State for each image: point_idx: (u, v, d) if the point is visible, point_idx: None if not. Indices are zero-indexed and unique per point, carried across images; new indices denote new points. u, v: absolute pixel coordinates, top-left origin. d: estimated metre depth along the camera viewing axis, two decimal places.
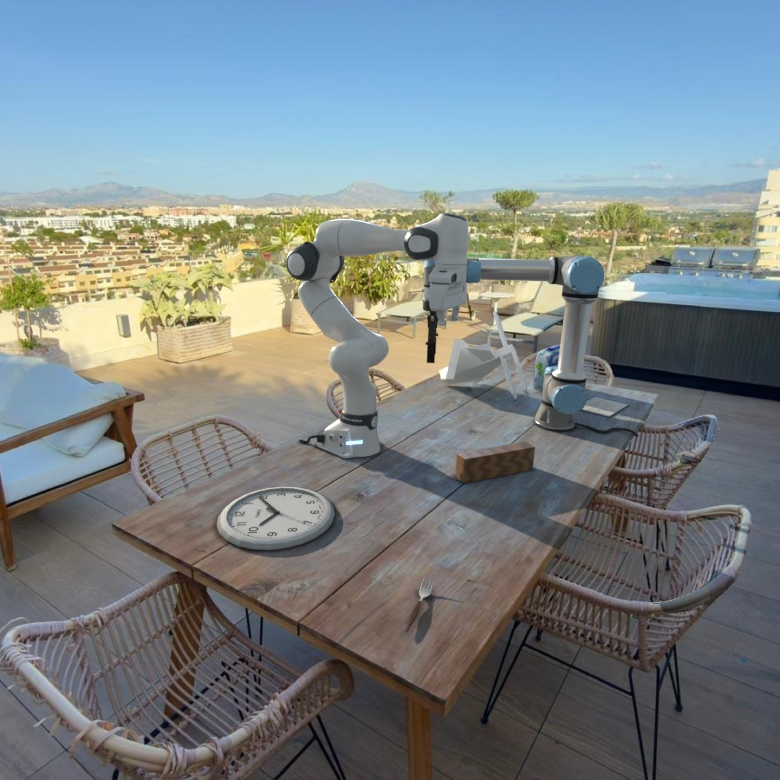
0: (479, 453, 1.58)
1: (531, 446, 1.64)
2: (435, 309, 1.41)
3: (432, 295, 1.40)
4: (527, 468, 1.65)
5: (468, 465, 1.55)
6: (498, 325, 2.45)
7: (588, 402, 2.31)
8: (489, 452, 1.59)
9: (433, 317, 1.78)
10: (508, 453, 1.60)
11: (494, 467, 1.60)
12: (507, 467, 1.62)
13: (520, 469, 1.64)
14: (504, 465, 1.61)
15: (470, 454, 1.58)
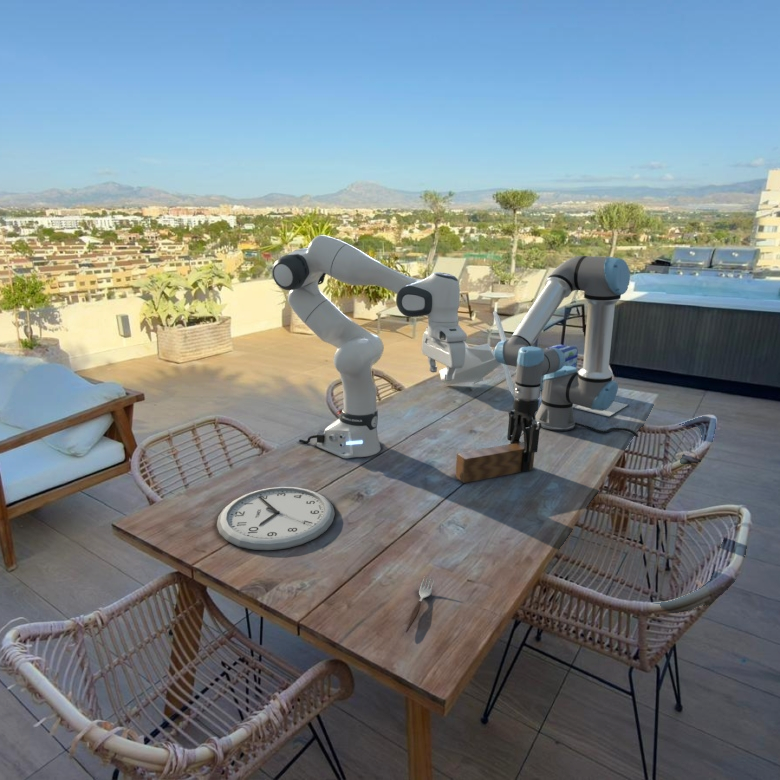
0: (479, 453, 1.58)
1: None
2: (458, 366, 1.46)
3: (454, 354, 1.44)
4: None
5: (468, 465, 1.55)
6: (498, 325, 2.45)
7: None
8: (489, 452, 1.59)
9: (538, 426, 1.56)
10: (508, 453, 1.60)
11: (494, 467, 1.60)
12: (507, 467, 1.62)
13: (520, 469, 1.64)
14: (504, 465, 1.61)
15: (470, 454, 1.58)
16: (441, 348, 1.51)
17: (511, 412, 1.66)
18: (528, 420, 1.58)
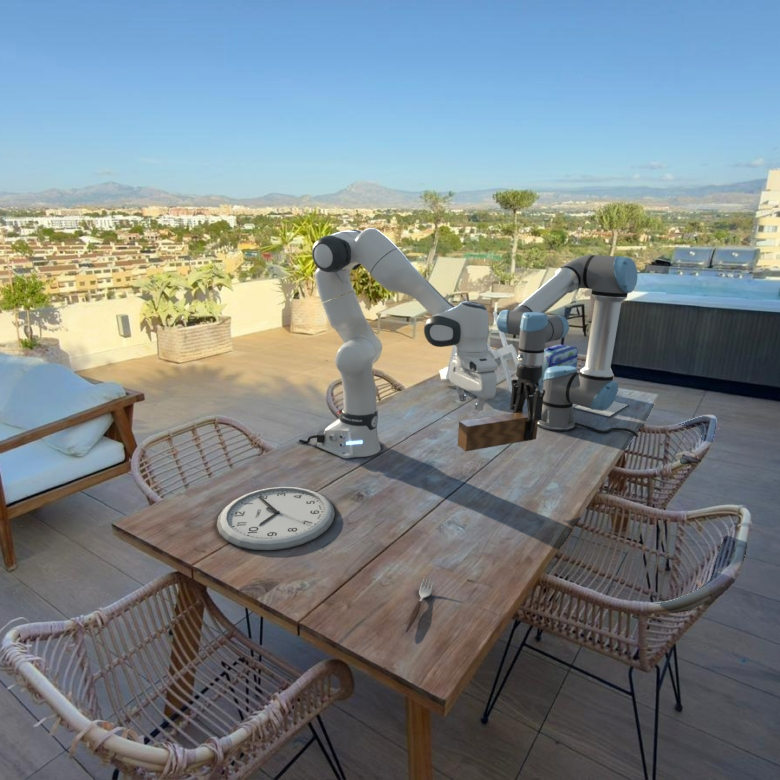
0: (482, 421, 1.55)
1: None
2: (489, 397, 1.43)
3: (486, 385, 1.42)
4: None
5: (471, 432, 1.52)
6: None
7: None
8: (492, 420, 1.56)
9: (542, 392, 1.53)
10: (511, 421, 1.57)
11: (497, 436, 1.56)
12: (510, 436, 1.59)
13: (523, 438, 1.61)
14: (507, 434, 1.58)
15: (472, 422, 1.55)
16: (471, 378, 1.48)
17: (514, 381, 1.63)
18: (531, 387, 1.55)
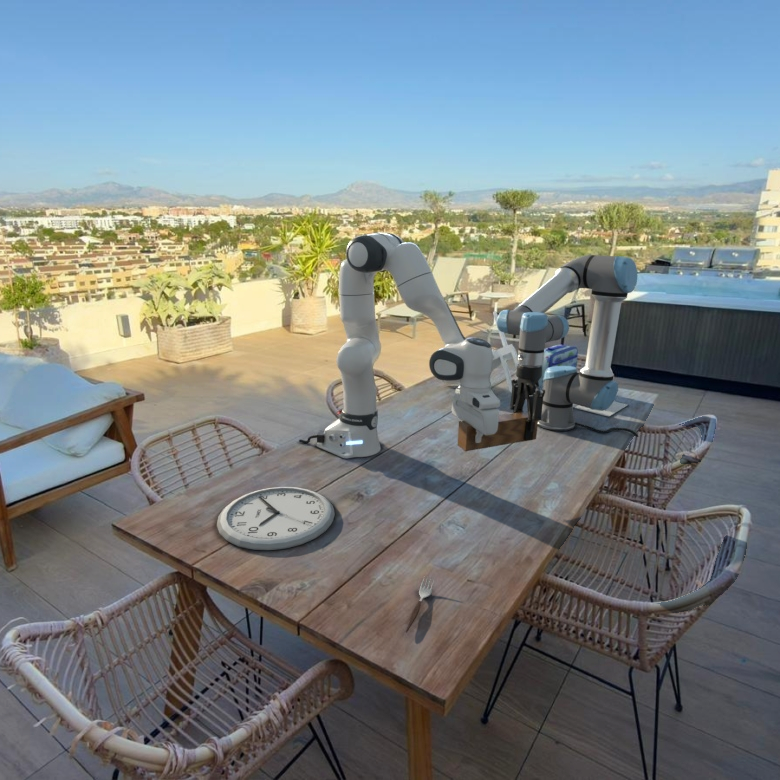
0: None
1: None
2: (491, 433, 1.46)
3: (488, 421, 1.44)
4: None
5: (471, 432, 1.52)
6: None
7: None
8: None
9: (542, 392, 1.53)
10: (511, 421, 1.57)
11: (497, 436, 1.57)
12: (510, 436, 1.59)
13: (523, 438, 1.61)
14: (507, 434, 1.58)
15: None
16: (473, 413, 1.50)
17: (514, 381, 1.63)
18: (531, 387, 1.55)
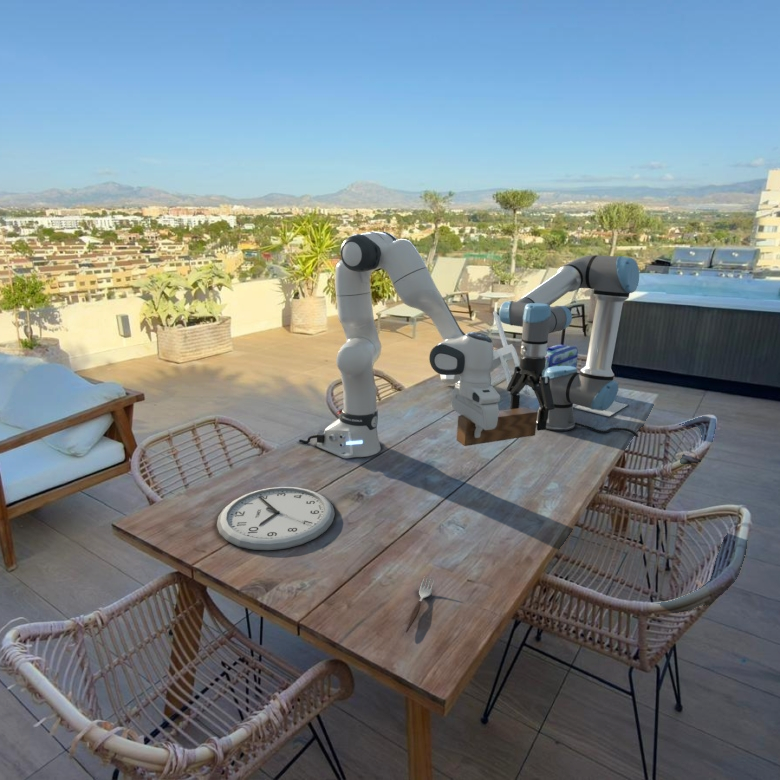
0: None
1: (534, 411, 1.61)
2: (490, 428, 1.45)
3: (488, 416, 1.44)
4: (529, 433, 1.62)
5: (470, 427, 1.52)
6: (498, 325, 2.45)
7: None
8: None
9: (547, 378, 1.52)
10: (510, 417, 1.57)
11: (496, 431, 1.56)
12: (509, 432, 1.58)
13: (522, 434, 1.61)
14: (506, 429, 1.58)
15: None
16: (473, 407, 1.50)
17: (517, 368, 1.63)
18: (535, 378, 1.55)
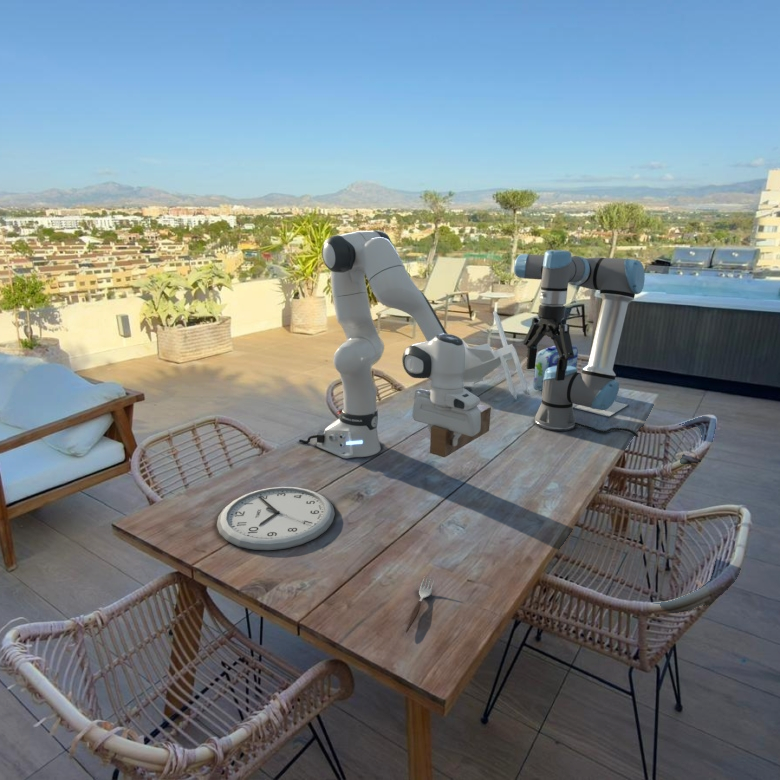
0: None
1: (487, 407, 1.58)
2: (476, 433, 1.38)
3: (474, 421, 1.36)
4: (486, 430, 1.59)
5: (448, 436, 1.41)
6: (498, 325, 2.45)
7: None
8: None
9: (566, 326, 1.50)
10: None
11: (465, 435, 1.49)
12: None
13: (481, 432, 1.57)
14: None
15: None
16: (450, 415, 1.40)
17: (535, 320, 1.60)
18: (554, 327, 1.52)
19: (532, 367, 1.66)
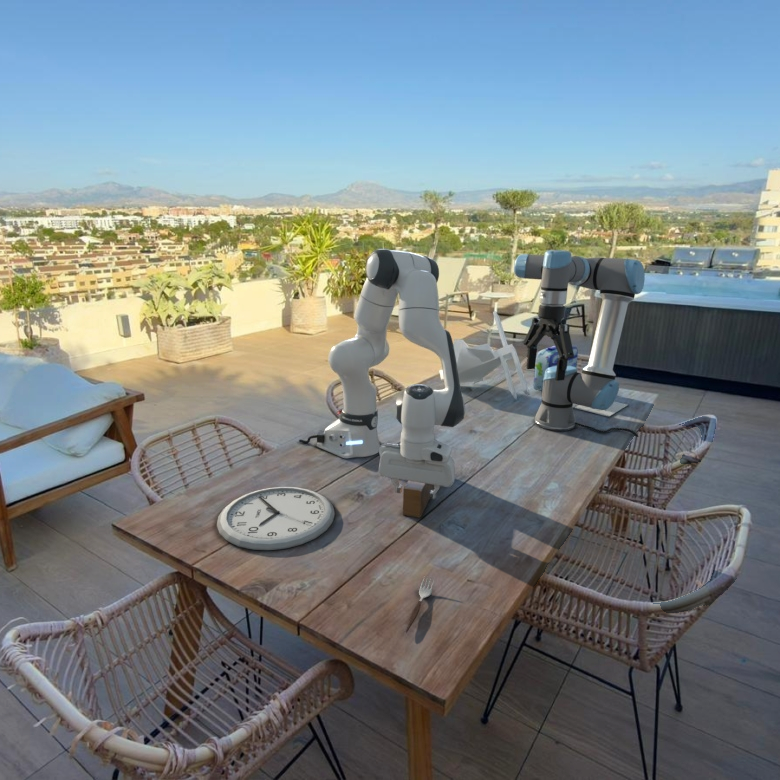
0: None
1: None
2: (452, 483, 1.36)
3: (452, 472, 1.33)
4: None
5: (422, 496, 1.37)
6: (498, 325, 2.45)
7: None
8: None
9: (566, 326, 1.50)
10: None
11: (430, 488, 1.46)
12: None
13: None
14: None
15: (414, 483, 1.39)
16: (424, 468, 1.35)
17: (535, 320, 1.60)
18: (554, 327, 1.52)
19: (532, 367, 1.66)
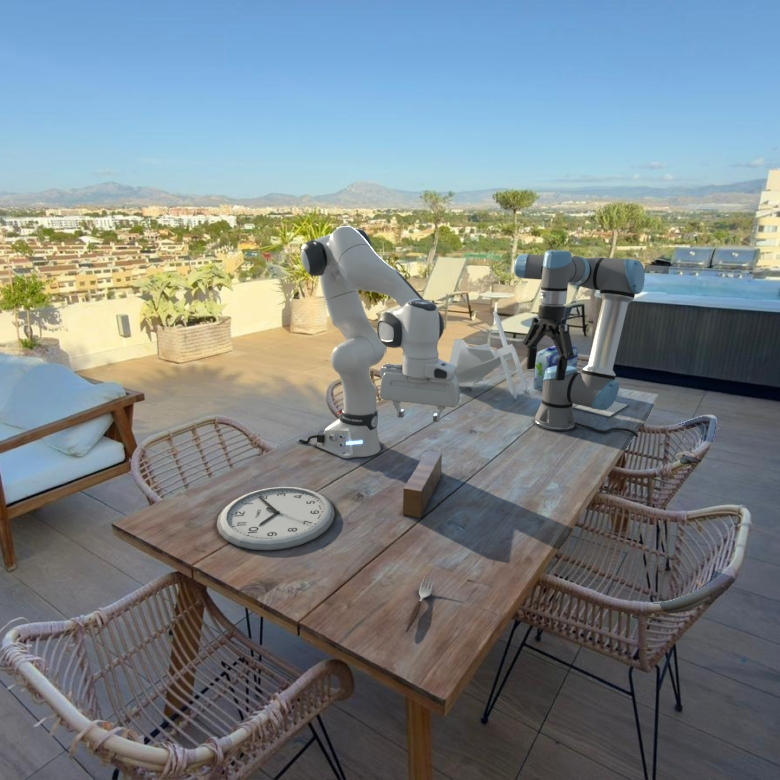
0: (419, 479, 1.41)
1: (439, 453, 1.58)
2: (457, 404, 1.29)
3: (457, 391, 1.27)
4: (439, 477, 1.58)
5: (422, 496, 1.37)
6: (498, 325, 2.45)
7: None
8: (423, 474, 1.45)
9: (566, 326, 1.50)
10: (434, 468, 1.49)
11: (430, 488, 1.46)
12: (433, 483, 1.51)
13: (437, 480, 1.56)
14: (433, 482, 1.49)
15: (414, 483, 1.39)
16: (427, 387, 1.29)
17: (535, 320, 1.60)
18: (554, 327, 1.52)
19: (532, 367, 1.66)
